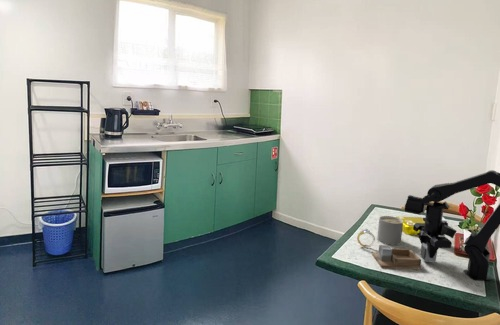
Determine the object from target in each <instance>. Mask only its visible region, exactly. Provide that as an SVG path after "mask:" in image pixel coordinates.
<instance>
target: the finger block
mask: <svg viewBox="0 0 500 325" xmlns="http://www.w3.org/2000/svg"><path fill="white" fill-rule="evenodd" d="M437 254H438V251H437V252H436V254H435V255H434V257H433V258H430V257H429V252H428V247H427V243H422V244H421V246H420V253H419V255H420V259H421V260H424V262H435V263H437Z"/></svg>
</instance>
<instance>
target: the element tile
mask: <svg viewBox="0 0 500 325" xmlns="http://www.w3.org/2000/svg"><path fill="white" fill-rule="evenodd" d="M396 217H397V218H400V219H402V220H403V228H402V233H404V234H405V235H407V236H418V235H417V233H419V231H420V230H418V231H417V232H416V231H415V230H413V226H414V224H415V223H425V221H423V218H424V217H422V216H396Z"/></svg>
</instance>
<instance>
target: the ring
mask: <svg viewBox="0 0 500 325" xmlns="http://www.w3.org/2000/svg"><path fill="white" fill-rule="evenodd" d="M365 234H369V235H370V236H371V237H372V242H371V244H363V243H362V242H361V240H360V236H363V235H365ZM356 239H357V242H358V244H359V245H360V246H362V248H365V247H366V248H370V247H372V246H373V245H374V243H375V241H376V239H375V235H374V234H373V233H372V232H371V230H369V229H368V228H365V229H361V231H360V232H359V233H358V234H357V237H356Z"/></svg>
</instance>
